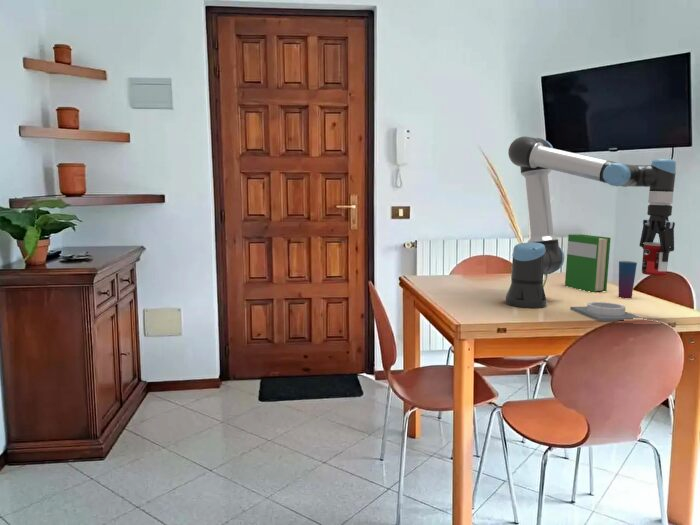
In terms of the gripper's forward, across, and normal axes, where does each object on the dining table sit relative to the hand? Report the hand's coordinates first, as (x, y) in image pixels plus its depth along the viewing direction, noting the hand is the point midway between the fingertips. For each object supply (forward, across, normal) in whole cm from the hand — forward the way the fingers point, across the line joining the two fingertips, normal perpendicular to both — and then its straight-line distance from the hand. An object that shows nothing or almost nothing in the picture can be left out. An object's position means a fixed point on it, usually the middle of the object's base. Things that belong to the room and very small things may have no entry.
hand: (654, 269), depth 211 cm
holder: (+17, +4, +15) cm, 23 cm away
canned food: (+2, 0, 0) cm, 2 cm away
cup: (+17, +37, -14) cm, 43 cm away
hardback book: (+18, +58, -8) cm, 61 cm away
